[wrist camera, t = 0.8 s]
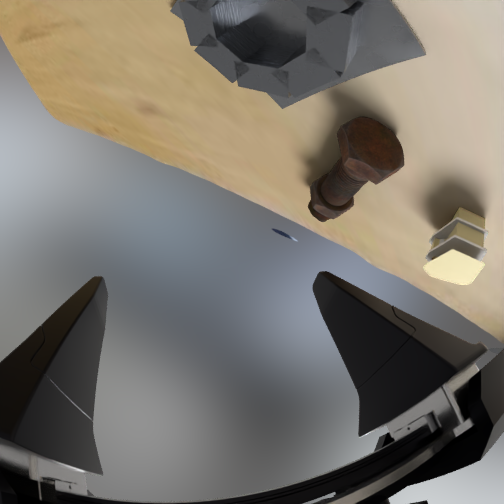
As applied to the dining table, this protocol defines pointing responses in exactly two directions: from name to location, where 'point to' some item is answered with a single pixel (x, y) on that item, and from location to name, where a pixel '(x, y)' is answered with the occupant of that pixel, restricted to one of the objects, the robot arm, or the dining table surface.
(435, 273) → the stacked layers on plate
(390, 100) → the dining table surface
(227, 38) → the socket block
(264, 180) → the dining table surface
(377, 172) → the bolt
